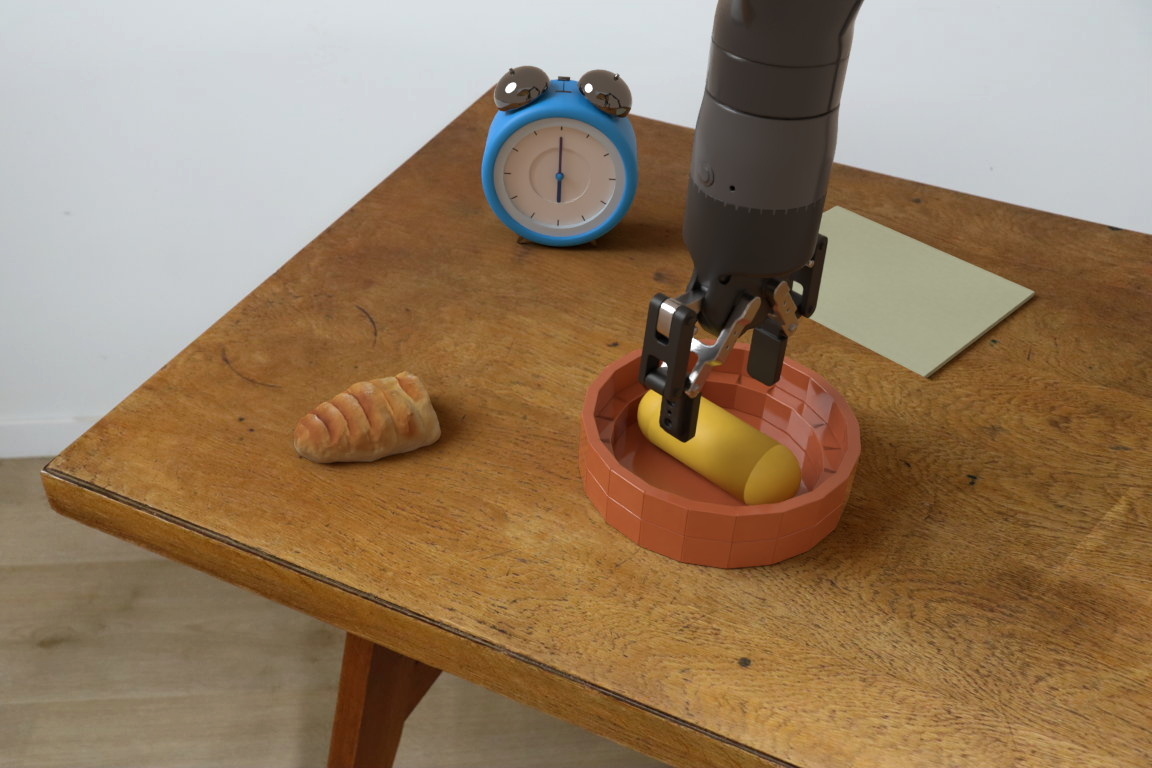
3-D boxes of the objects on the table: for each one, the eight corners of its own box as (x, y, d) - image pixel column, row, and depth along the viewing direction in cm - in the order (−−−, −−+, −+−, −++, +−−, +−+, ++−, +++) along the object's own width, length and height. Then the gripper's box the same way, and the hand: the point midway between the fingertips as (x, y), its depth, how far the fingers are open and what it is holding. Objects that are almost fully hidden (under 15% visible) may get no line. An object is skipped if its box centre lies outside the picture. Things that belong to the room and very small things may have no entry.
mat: (836, 209, 105) (837, 205, 104) (1033, 296, 94) (1035, 291, 93) (700, 284, 93) (700, 279, 93) (907, 393, 82) (909, 388, 82)
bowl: (695, 365, 84) (702, 310, 81) (896, 482, 74) (913, 424, 71) (524, 470, 73) (525, 411, 70) (732, 621, 64) (744, 561, 61)
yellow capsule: (621, 439, 75) (626, 388, 73) (664, 412, 78) (670, 361, 75) (767, 535, 69) (778, 482, 66) (808, 502, 71) (821, 450, 69)
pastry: (315, 490, 71) (309, 445, 69) (281, 431, 76) (274, 386, 73) (449, 447, 75) (447, 402, 73) (409, 393, 79) (406, 349, 77)
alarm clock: (481, 246, 96) (480, 80, 87) (487, 212, 101) (487, 51, 92) (631, 254, 96) (646, 89, 87) (630, 219, 101) (644, 60, 92)
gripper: (732, 240, 54) (694, 487, 64) (889, 158, 62) (834, 387, 72) (619, 185, 58) (600, 425, 68) (781, 115, 66) (743, 337, 76)
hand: (721, 405), depth 70 cm, fingers open, 8 cm apart
